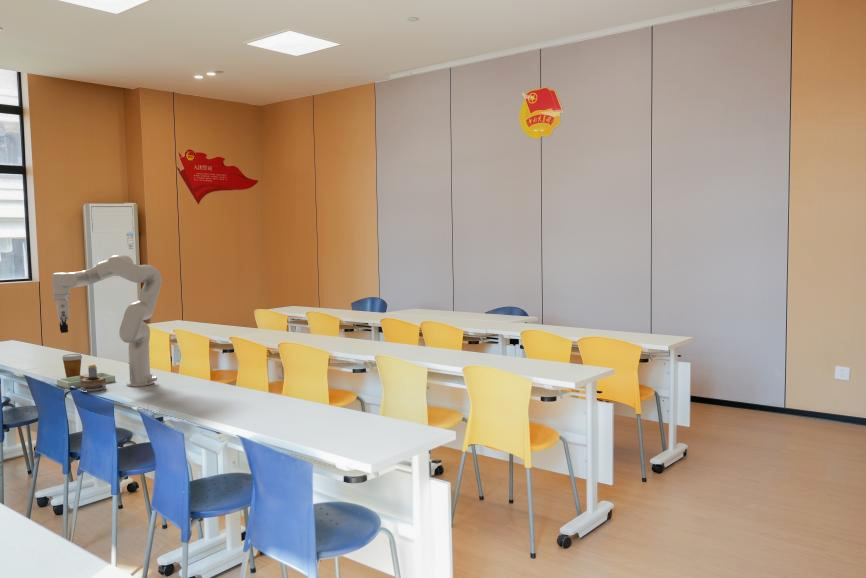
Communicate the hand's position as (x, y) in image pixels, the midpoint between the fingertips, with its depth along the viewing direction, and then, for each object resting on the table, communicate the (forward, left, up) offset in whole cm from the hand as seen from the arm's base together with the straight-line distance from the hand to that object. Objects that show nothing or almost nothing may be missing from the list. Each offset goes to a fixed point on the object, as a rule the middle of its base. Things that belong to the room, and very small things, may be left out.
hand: (64, 331), depth 345 cm
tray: (-8, -3, -27) cm, 28 cm away
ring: (-19, +9, -24) cm, 32 cm away
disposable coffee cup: (+9, -17, -27) cm, 33 cm away
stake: (-21, +11, -27) cm, 36 cm away
